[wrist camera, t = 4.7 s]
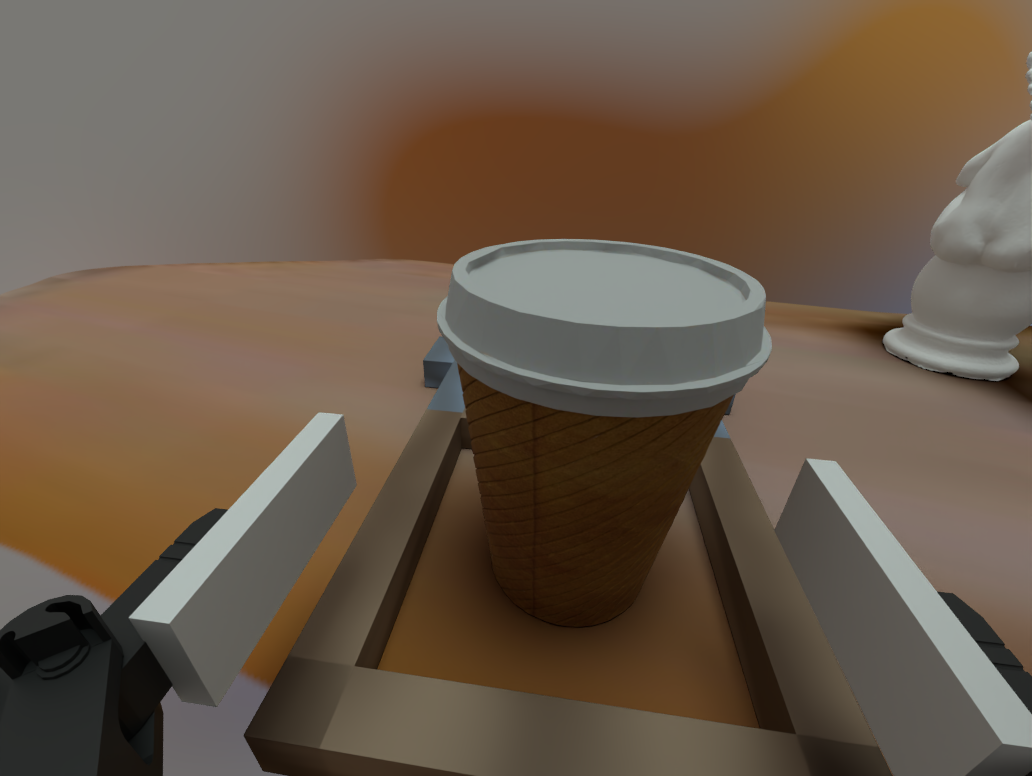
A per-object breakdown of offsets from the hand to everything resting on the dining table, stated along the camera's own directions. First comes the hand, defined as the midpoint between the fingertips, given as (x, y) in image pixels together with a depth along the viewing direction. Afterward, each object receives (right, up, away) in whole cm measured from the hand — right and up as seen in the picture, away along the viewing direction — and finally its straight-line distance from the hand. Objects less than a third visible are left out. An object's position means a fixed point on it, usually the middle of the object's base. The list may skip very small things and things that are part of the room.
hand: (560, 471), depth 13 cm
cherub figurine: (+35, +4, +23) cm, 42 cm away
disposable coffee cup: (+1, -5, +6) cm, 7 cm away
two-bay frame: (+2, -1, +12) cm, 12 cm away
